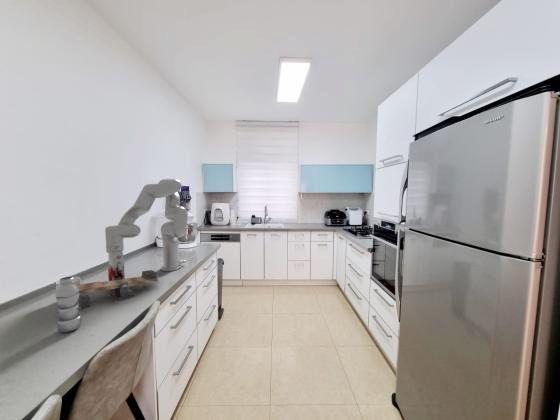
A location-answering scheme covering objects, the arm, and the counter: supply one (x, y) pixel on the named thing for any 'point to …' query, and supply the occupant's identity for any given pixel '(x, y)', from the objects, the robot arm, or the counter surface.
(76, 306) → the plastic bottle
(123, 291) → the beam stand
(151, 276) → the beam
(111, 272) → the soda can
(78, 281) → the cup
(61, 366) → the counter surface
